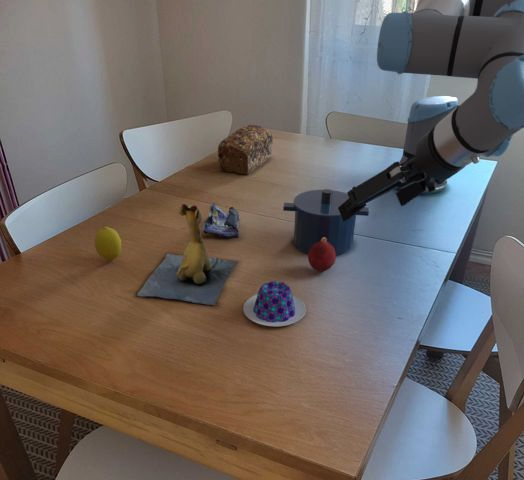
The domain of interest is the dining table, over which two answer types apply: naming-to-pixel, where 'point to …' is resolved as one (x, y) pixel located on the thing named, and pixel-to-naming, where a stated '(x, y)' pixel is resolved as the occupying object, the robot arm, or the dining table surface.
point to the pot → (323, 230)
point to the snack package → (222, 222)
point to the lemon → (108, 243)
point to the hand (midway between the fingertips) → (371, 206)
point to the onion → (322, 255)
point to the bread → (245, 149)
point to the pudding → (274, 305)
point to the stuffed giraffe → (189, 269)
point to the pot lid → (321, 202)
